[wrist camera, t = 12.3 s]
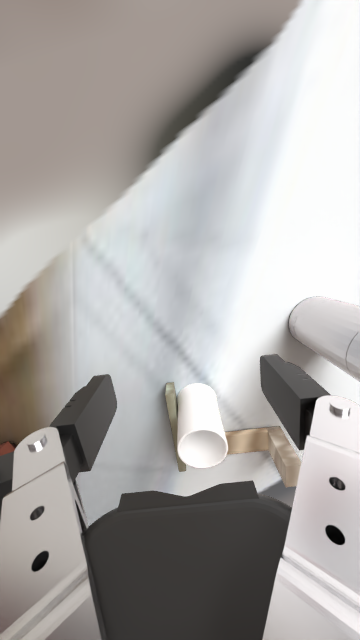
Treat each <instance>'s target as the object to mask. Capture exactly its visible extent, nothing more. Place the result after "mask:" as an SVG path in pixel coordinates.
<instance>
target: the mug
mask: <svg viewBox="0 0 360 640" xmlns="http://www.w3.org/2000/svg"><path fill="white" fill-rule="evenodd" d="M177 406H178V434H177V451H178V455H179V457H180V459H181V460H182V461H183V462H184V463H185V464H187V465H189V466H191V467H194V468H199V469H205V468H210V467H213V466H216V465H218V464H219V463H220V462H222V461H223V460H224V459H225V457H226V455H227V452H228V443H227V439H226V436H225V432H224V428H223V424H222V420H221V416H220V413H219V409H218V405H217V396H216V394H215V392H214V391H213V389H212V388H210V387H209V386H207V385H205V384H201V383H194V384H190V385H187V386H186V387H184V388H183V389H182V390H181V391H180V392H179V394H178V397H177Z"/></svg>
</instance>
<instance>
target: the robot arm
mask: <svg viewBox="0 0 360 640" xmlns="http://www.w3.org/2000/svg"><path fill="white" fill-rule="evenodd" d="M289 329H290V332H291V334H292V335H293V337H295V338H296V339H297V340H298V341H300V342H301V343H303V344H304V345H306V346H307V347H309V348H310V349H311V350H313V351H314V352H316V353H317V354H319V355H320V356H322V357H323V358H325V359H326V360H328V361H329V362H331V363H332V364H334V365H335V366H337V367H338V368H340V369H341V370H343V371H344V372H346V373H347V374H349V375H350V376H352V377H353V378H355V379H356V380H358V381H359V382H360V306H357V305H353V304H349V303H345V302H341V301H337V300H333V299H329V298H325V297H319V296H316V297H310V298H307V299H305V300H303V301H302V302H300V303H299V304H298V305H297V306H296V307H295V308H294V310H293V311H292V313H291V315H290V318H289ZM260 374H261V387H262V391H263V393H264V395H265V397H266V398H267V400H268V402H269V403H270V405H271V406H272V408H273V409H274V411H275V413H276V414H277V416H278V417H279V419H280V421H281V422H282V424H283V425H284V427H285V429H286V430H287V432H288V433H289V435H290V437H291V438H292V440H293V441H294V443H295V444H296V446H297V448H298V449H299V450H304V453H303V458H302V462H301V467H300V472H299V477H298V482H297V487H296V492H295V497H294V502H293V507H292V508H291V507H290V506H288V505H286V504H285V503H283V502H281V501H279V500H277V499H274V498H272V497H269V496H266V495H263V494H258V493H257V491H256V488H255V485H254V482H253V481H245V482H235V483H225V484H219V485H216V486H214V487H211V488H209V489H206V490H204V491H201V492H199V493H196V494H194V495H191V496H188V497H183V496H178V495H173V494H168V493H163V492H158V491H145V492H135V493H125V494H122V495H121V499H120V503H119V507H118V508H116V509H114V510H112V511H110V512H108V513H106V514H105V515H103V516H102V517H100V518H99V519H98V520H96V521H95V522H94V523H93V524H91V525H90V526H89V525H88V521H87V517H86V514H85V510H84V506H83V503H82V499H81V495H80V492H79V488H78V484H77V482H76V477H77V475H78V473H79V472H87V471H91V468H92V466H93V464H94V461H95V459H96V457H97V454H98V452H99V450H100V447H101V445H102V443H103V440H104V438H105V436H106V433H107V431H108V429H109V426H110V424H111V422H112V419H113V417H114V415H115V412H116V409H117V400H116V395H115V392H114V388H113V384H112V380H111V377H110V375H109V374H106V375H98V376H94V377H93V378H92V379H91V380H90V382H89V383H88V384H87V386H85V387H83V388H82V389H80V390H79V391H78V392H76V393H75V394H74V396H73V397H72V398H71V399H70V402H68V403H67V404H66V406H65V408H63V409H62V411H61V412H60V413H59V415H58V416H57V417H56V418H55V420H54V421H53V422H52V423H51V425H50V426H49V427H47V428H43V429H40V430H38V431H36V432H34V433H32V434H30V435H29V436H27V437H26V438H25V439H23V440H22V441H21V442H20V443H19V445H18V446H17V447H16V449H15V451H13V452H10V453H7V454H4V455H1V456H0V640H360V405H358V404H357V403H355V402H353V401H351V400H349V399H346V398H343V397H339V396H332V395H330V394H329V393H328V392H327V391H326V390H325V389H324V388H322V387H321V386H320V385H319V384H318V383H317V382H316V381H314V380H313V379H312V378H311V377H310V376H309V375H308V374H306V373H305V372H304V371H303V370H302V369H301V368H300V367H298V366H296V365H294V364H292V363H290V362H287V363H285V362H284V361H283V360H282V359H281V358H280V357H279V356H278V355H277V354H272V355H264V356H261V357H260Z"/></svg>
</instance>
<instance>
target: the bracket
mask: <svg viewBox="0 0 360 640" xmlns="http://www.w3.org/2000/svg"><path fill="white" fill-rule="evenodd" d="M165 397H166V402H167V408H168V413H169V419H170V424H171V430H172V435H173V441H174V446H175V452H176V458H177V463H178V469H179V472H181V471H186V464H185V463H184V462H183V461H182V460H181V459H180V457H179V455H178V451H177V434H178V406H177V399H176V393H175V387H174V382H172V383H167V384H166V393H165ZM225 436H226V439H227V443H228V452H227V454H237V453H246V452H256V451H265V450H269V452H270V454H271V457H272V459H273V461H274V463H275V465H276V467H277V469H278V472H279V474H280V476H281V478H282V480H283V482H284V484H285V486H286V487H292V486H297V482H298V477H299V472H300V467H301V461H300V459H299V458H298V456H297V454H296V453H295V451H294V449H293V448H292V446H291V444H290V443H289V441H288V439H287V438H286V436H285V434H284V433H283V431H282V429H281V428H280V426H276V427H267V428H258V429H249V430H240V431H231V432H225Z"/></svg>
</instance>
